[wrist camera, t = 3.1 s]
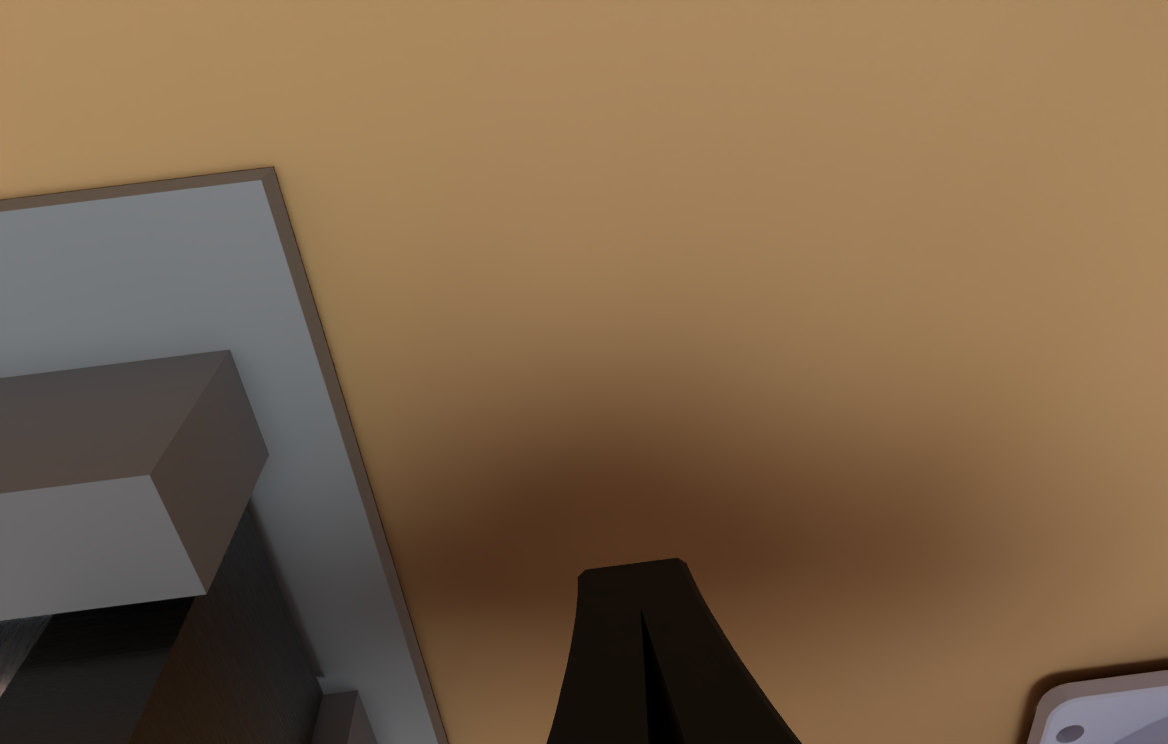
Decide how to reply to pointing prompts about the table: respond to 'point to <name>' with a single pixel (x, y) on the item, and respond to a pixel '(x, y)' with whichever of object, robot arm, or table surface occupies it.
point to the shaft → (165, 666)
